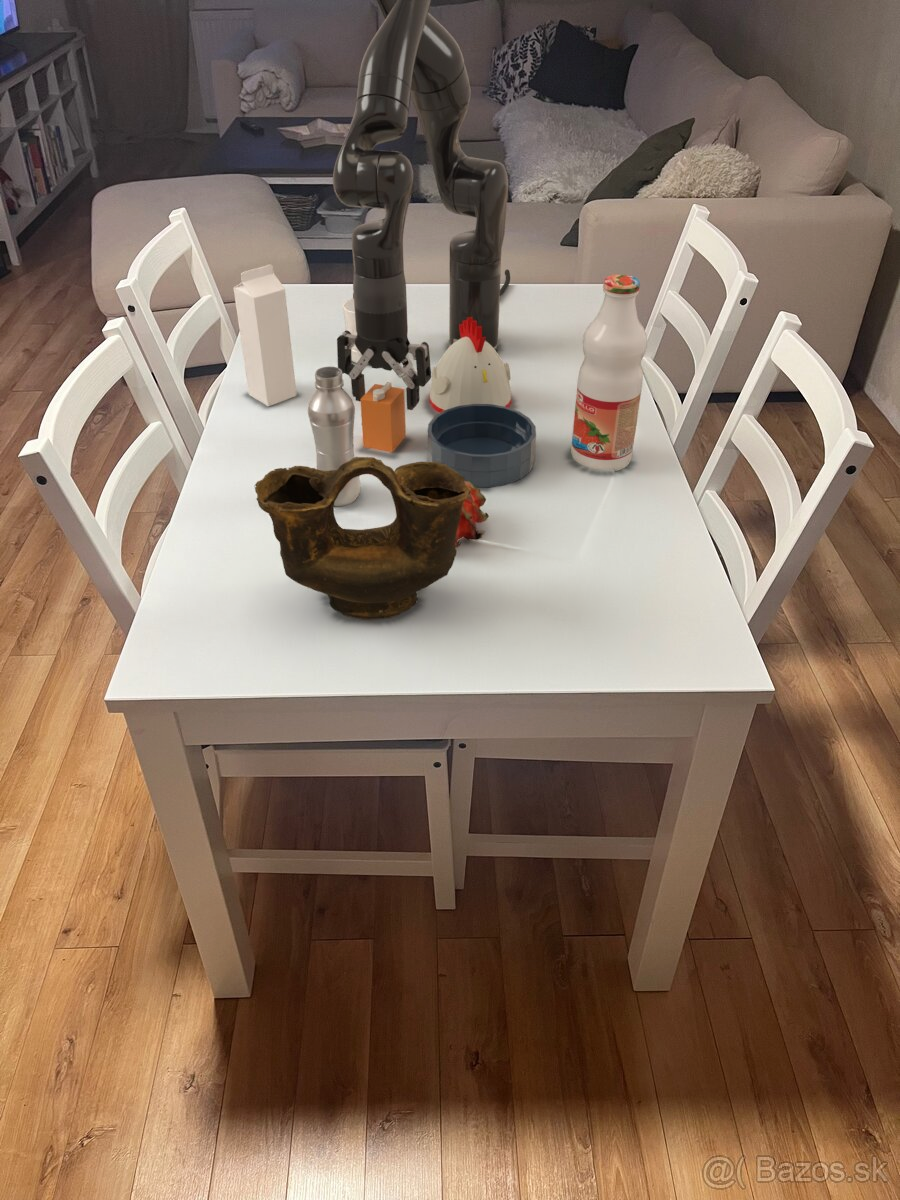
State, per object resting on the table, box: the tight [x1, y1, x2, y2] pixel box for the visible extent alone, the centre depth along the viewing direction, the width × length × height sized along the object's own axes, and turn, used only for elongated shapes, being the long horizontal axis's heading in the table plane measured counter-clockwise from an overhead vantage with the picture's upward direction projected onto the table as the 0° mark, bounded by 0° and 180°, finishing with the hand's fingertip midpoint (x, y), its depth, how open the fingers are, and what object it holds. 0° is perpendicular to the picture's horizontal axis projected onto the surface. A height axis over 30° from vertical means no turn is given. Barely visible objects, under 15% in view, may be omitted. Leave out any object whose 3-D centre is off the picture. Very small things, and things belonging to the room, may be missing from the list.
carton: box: [360, 381, 407, 453], centre depth 146 cm, size 6×5×10 cm
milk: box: [233, 263, 298, 407], centre depth 155 cm, size 6×6×22 cm
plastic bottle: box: [307, 366, 362, 507], centre depth 130 cm, size 6×7×20 cm
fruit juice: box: [570, 274, 648, 472], centre depth 137 cm, size 9×9×28 cm
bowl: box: [427, 404, 537, 488], centre depth 143 cm, size 16×16×6 cm
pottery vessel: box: [254, 456, 471, 620], centre depth 113 cm, size 25×11×20 cm, turn 96°
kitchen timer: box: [429, 317, 512, 414], centre depth 155 cm, size 14×14×15 cm
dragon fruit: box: [455, 480, 490, 549], centre depth 127 cm, size 8×8×12 cm
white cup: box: [342, 297, 362, 364], centre depth 171 cm, size 8×8×10 cm
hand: (385, 403), depth 144 cm, fingers open, 8 cm apart
